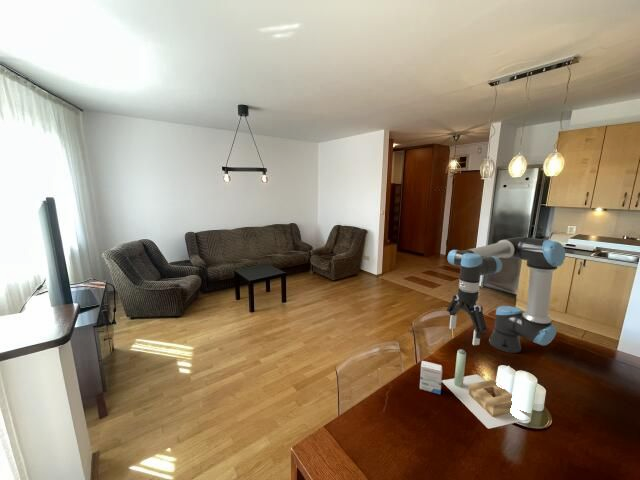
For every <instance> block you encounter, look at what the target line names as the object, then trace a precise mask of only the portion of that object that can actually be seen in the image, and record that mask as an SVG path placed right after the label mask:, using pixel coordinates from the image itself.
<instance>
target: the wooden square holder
mask: <svg viewBox="0 0 640 480" xmlns="http://www.w3.org/2000/svg"><path fill="white" fill-rule="evenodd" d="M496 383H497V382H496V381H495V380H494V379H489V380H485V381H483V382H478V383H472V384H470V386H469V395H470V396H471V397H472V398H473V399H474V400H475V401H476V402H477V403H478V404H479V405H480V406H481V407H482V408H484V409H485V410H486V411H487V412H488V413H489V414H490V415H491V416H492V417H494V416H499V415H503V414H508V413H510V408H511V405H512V401H511V398H512V395H513V394H512V393H511V392H509V391H508V390H507V389H505V388H504V389H502V388H500V387H498V386H497V385H496Z"/></svg>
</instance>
